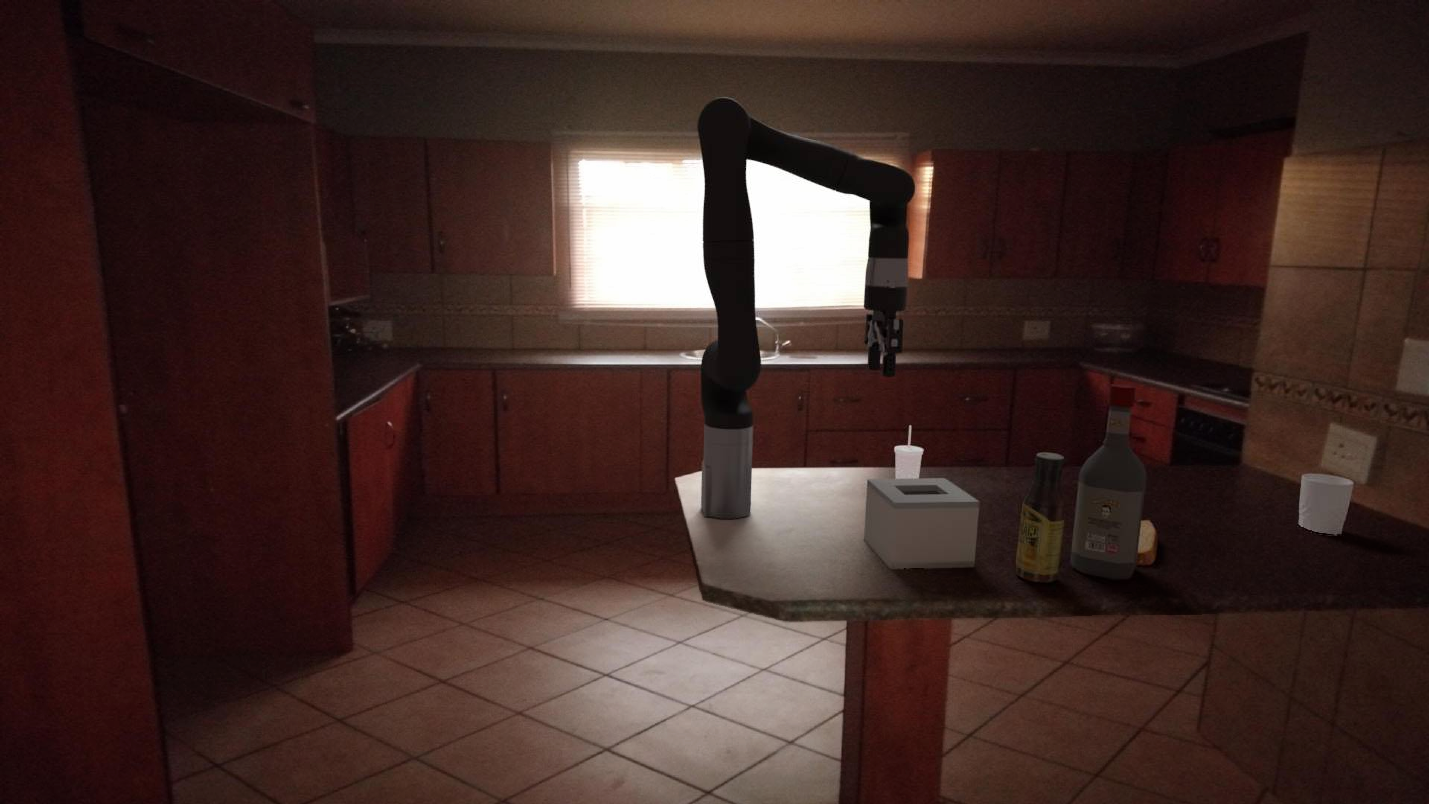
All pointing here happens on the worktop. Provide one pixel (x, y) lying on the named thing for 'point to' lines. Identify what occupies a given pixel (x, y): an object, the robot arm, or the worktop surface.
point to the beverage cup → (908, 460)
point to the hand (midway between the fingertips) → (880, 373)
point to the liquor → (1110, 498)
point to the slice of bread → (1147, 544)
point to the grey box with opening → (921, 523)
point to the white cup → (1324, 502)
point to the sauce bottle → (1042, 522)
